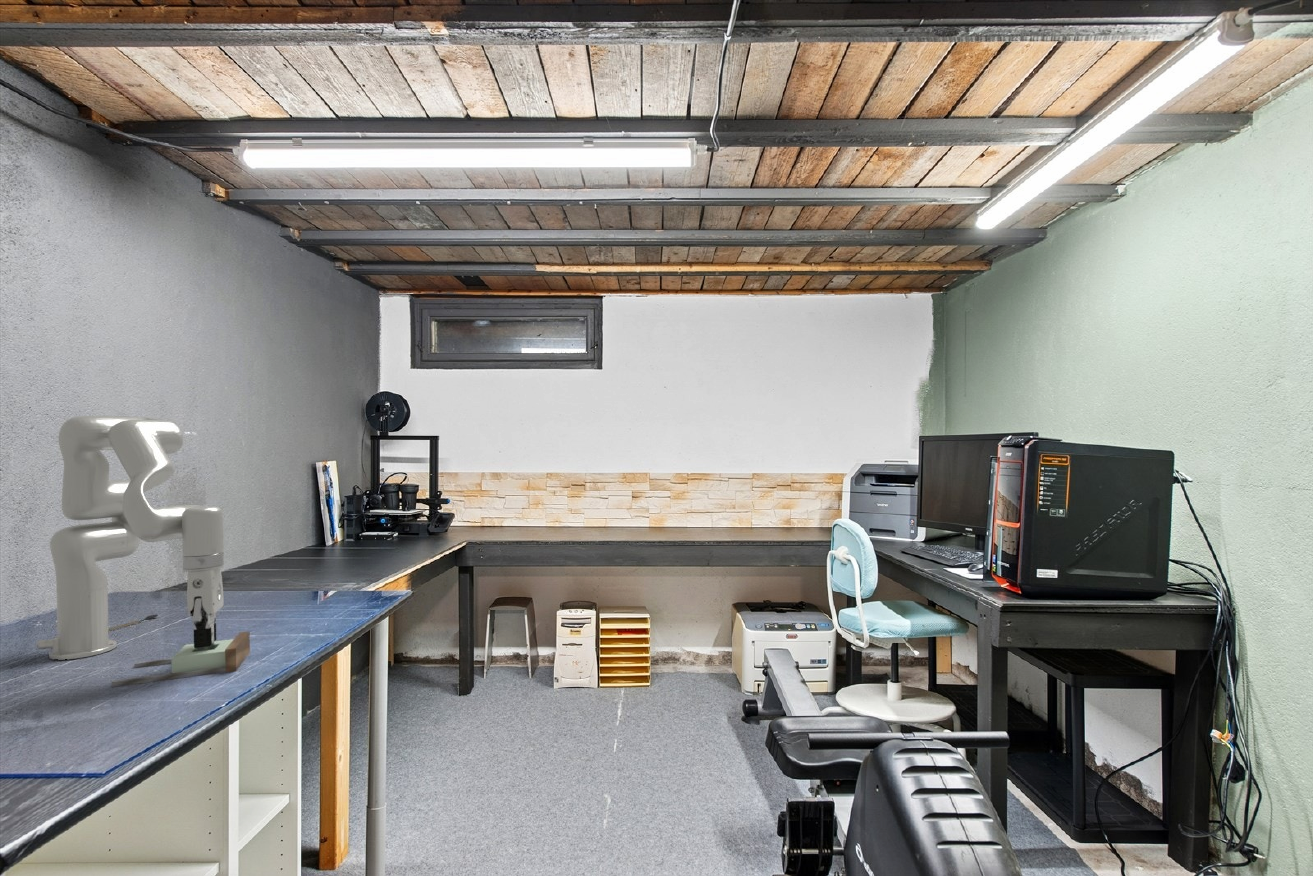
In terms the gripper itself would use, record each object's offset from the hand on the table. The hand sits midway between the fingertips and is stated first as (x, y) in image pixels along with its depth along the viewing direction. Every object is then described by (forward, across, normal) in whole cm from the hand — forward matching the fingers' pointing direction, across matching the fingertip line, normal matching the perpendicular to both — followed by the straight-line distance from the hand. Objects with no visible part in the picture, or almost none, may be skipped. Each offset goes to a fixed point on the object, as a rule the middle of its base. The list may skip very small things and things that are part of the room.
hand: (205, 643), depth 145 cm
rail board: (+6, 0, +6) cm, 9 cm away
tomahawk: (+7, +55, +32) cm, 64 cm away
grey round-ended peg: (+2, 0, 0) cm, 2 cm away
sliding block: (+5, 0, 0) cm, 5 cm away
